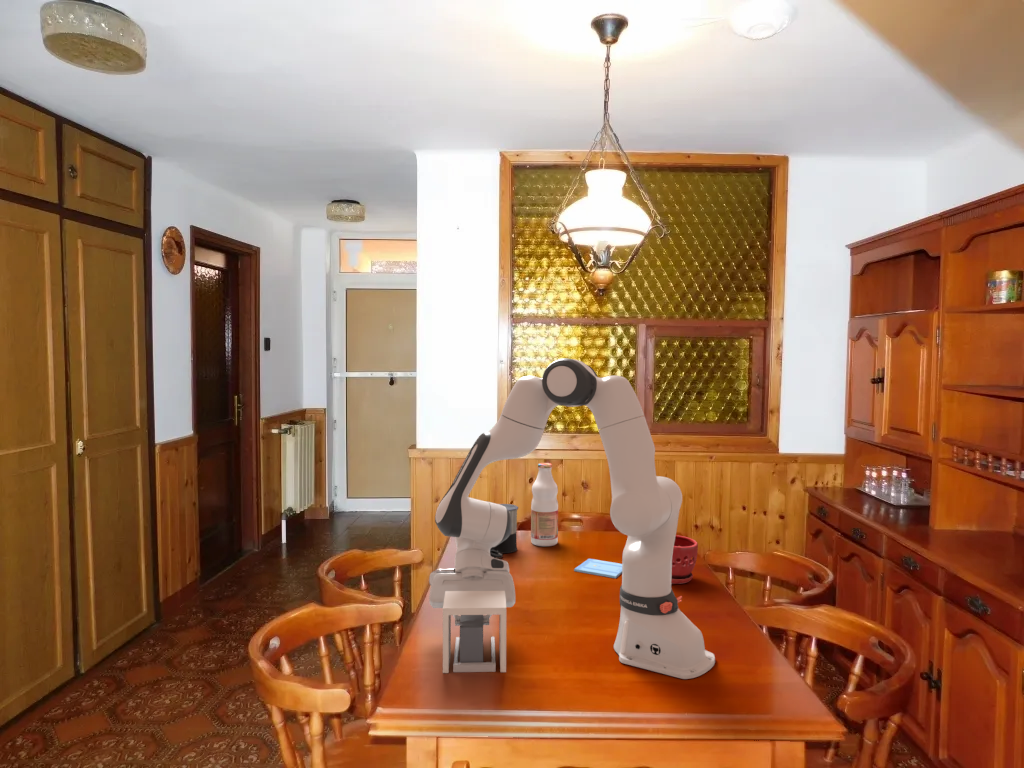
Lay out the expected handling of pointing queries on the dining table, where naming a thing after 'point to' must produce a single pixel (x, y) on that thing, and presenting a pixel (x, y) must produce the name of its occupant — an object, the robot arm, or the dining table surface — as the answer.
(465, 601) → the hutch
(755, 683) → the dining table surface
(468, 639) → the grey block
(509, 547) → the milk frother
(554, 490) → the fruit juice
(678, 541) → the plant pot
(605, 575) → the light blue flat slab
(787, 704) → the dining table surface
